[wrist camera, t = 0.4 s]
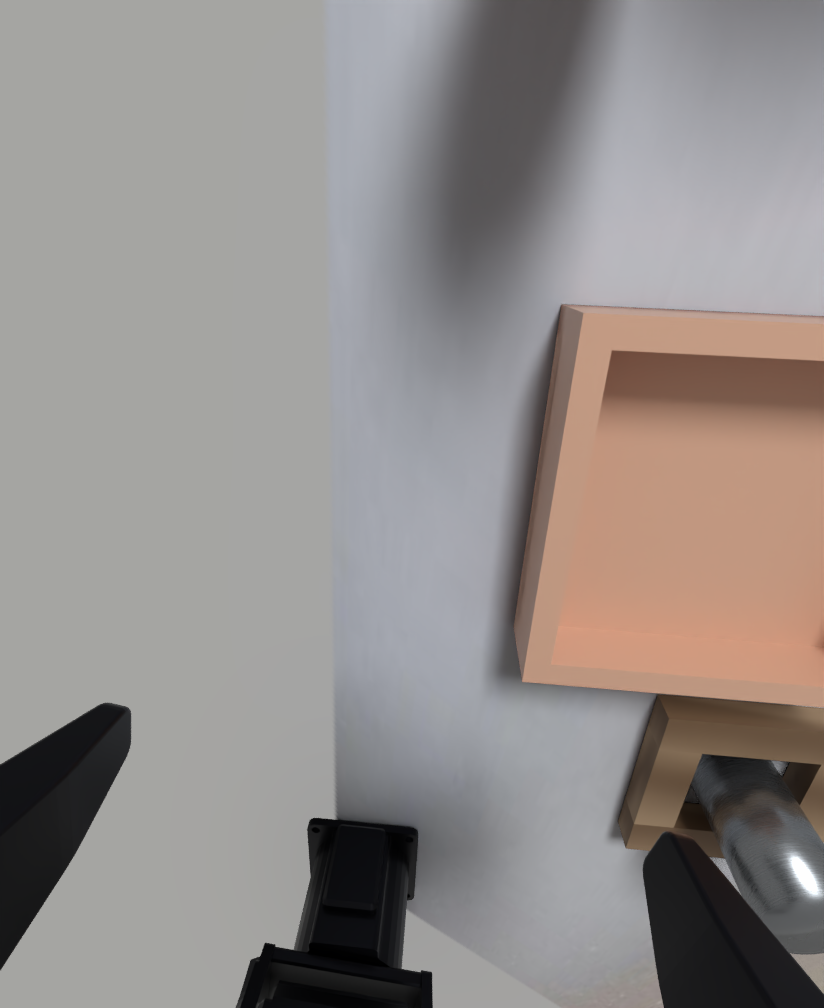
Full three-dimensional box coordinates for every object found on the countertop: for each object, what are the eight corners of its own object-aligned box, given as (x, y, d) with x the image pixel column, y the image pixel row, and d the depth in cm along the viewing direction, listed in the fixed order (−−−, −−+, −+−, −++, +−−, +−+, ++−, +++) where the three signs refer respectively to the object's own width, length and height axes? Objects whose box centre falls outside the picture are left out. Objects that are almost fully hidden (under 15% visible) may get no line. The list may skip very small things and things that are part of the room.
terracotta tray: (827, 651, 23) (885, 712, 20) (513, 627, 24) (522, 681, 21) (983, 323, 18) (1099, 336, 14) (561, 304, 18) (583, 312, 15)
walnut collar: (792, 838, 29) (809, 866, 27) (617, 821, 29) (625, 848, 28) (860, 711, 25) (884, 737, 23) (657, 694, 25) (669, 718, 24)
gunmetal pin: (756, 799, 28) (846, 959, 21) (679, 792, 28) (745, 948, 22) (782, 746, 26) (887, 902, 20) (699, 738, 26) (777, 890, 20)
